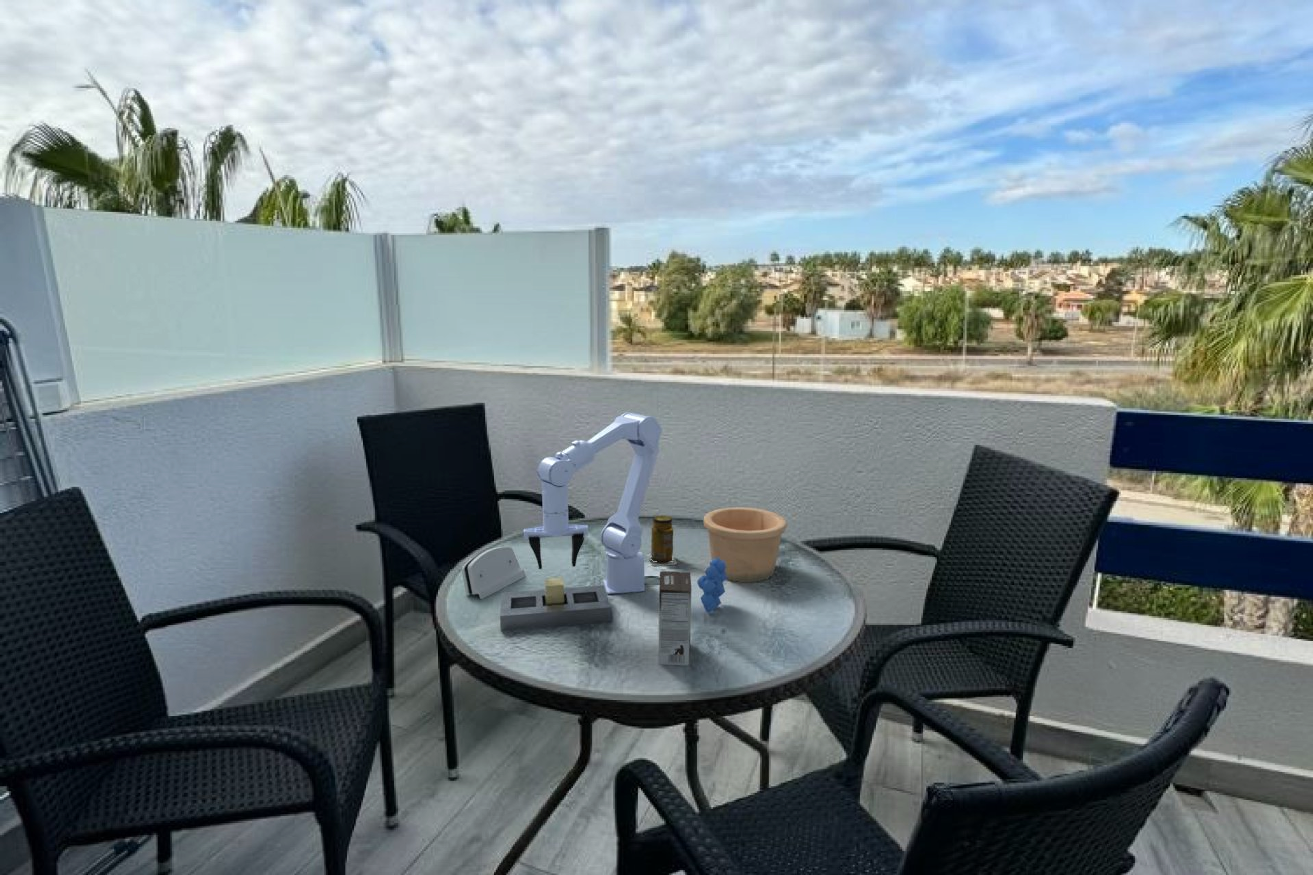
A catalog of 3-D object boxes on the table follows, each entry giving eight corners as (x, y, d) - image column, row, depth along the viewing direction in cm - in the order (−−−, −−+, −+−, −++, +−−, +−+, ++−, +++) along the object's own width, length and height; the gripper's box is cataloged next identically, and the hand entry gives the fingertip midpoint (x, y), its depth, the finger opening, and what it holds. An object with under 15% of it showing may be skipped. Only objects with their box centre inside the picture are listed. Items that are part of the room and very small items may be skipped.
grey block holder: (604, 598, 158) (603, 585, 158) (610, 621, 147) (610, 607, 146) (502, 606, 154) (501, 592, 153) (500, 631, 142) (500, 616, 142)
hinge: (480, 599, 157) (468, 560, 157) (467, 601, 160) (455, 562, 160) (526, 575, 172) (515, 539, 171) (514, 577, 174) (503, 541, 174)
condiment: (671, 553, 188) (671, 513, 186) (678, 564, 180) (679, 522, 178) (646, 555, 187) (646, 514, 184) (652, 566, 178) (653, 524, 176)
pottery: (767, 593, 162) (770, 538, 159) (688, 575, 173) (689, 523, 170) (795, 564, 181) (797, 515, 178) (722, 549, 191) (723, 502, 188)
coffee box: (658, 642, 138) (659, 570, 135) (689, 642, 138) (691, 570, 135) (657, 665, 129) (658, 588, 126) (690, 666, 129) (691, 589, 126)
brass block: (563, 609, 153) (562, 577, 151) (564, 617, 149) (563, 584, 147) (545, 611, 152) (545, 578, 150) (546, 619, 148) (545, 586, 146)
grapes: (705, 594, 161) (706, 548, 159) (731, 600, 158) (733, 553, 156) (686, 614, 151) (687, 565, 148) (714, 620, 148) (715, 570, 146)
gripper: (523, 517, 144) (525, 575, 146) (589, 513, 147) (590, 570, 149) (522, 507, 150) (524, 563, 153) (585, 504, 153) (586, 558, 156)
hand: (557, 566), depth 152 cm, fingers open, 7 cm apart
